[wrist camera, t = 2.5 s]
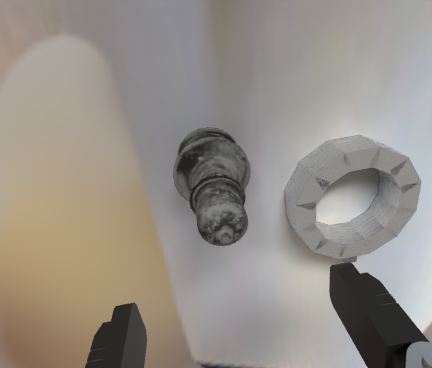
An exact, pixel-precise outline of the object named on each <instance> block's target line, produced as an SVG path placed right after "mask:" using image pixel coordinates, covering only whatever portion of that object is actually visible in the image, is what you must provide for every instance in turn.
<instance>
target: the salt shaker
mask: <svg viewBox="0 0 432 368" xmlns="http://www.w3.org/2000/svg"><path fill="white" fill-rule="evenodd" d="M173 178H174V182H175V186H176V188H177V190H178V191H179V193H180V194H181V195H182V196H183V197H184V198H185V199H186V200H187V201H189V202H190V206H191V209H192V211H193V212H194V214H195V215H197V226H198V230H199V233H200V234H201V236H202V238H203V239H204V240H206V241H207V242H209V243H211V244H213V245H218V246H226V245H231V244H233V243H235V242H237V241H238V240H240V239H241V238H242V237H243V235H244V234H245V232H246V230H247V226H248V218H247V214H246V211H245V209H244V203H245V191H244V190H245V188H246V186H247V184H248V182H249V178H250V164H249V161H248V159H247V156H246V154H245V153H244V152H243V150H242V149H241V148H240V147H239V146H238V145H236V143H235V141H234V140H233V138H232V137H231V136H230V135H229V134H227V133H226V132H224V131H222V130H220V129H217V128H208V127H207V128H202V129H198V130H196V131H194V132H192V133H190V134H189V135H188V136H187V137H186V138H185V139H184V140H183V142H182V143H181V145H180V148H179V151H178V157H177V159H176V162H175V165H174V171H173Z"/></svg>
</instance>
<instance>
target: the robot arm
mask: <svg viewBox="0 0 432 368" xmlns="http://www.w3.org/2000/svg"><path fill="white" fill-rule="evenodd" d="M329 292H330V298H331V302H332V304H333V307H334V309H335V310H336V312H337V314H338V316H339V318H340V319H341V321H342V323H343V325H344V326H345V328H346V330H347V332H348V334H349V335H350V337H351V339H352V341H353V342H354V344H355V346H356V348H357V350H358V351H359V353H360V355H361V357H362V358H363V360H364V362H365V364H366V366H367V367H368V368H432V343H430V342H429V341H428V340H427V339H426V337H425V336H424V335H423V334H422V333H421V331H420V330H419V329H418V328H417V326H416V325H415V324H414V323H413V321H412V320H411V319H410V318H409V316H408V315H407V314H406V313H405V312H404V310H403V309H402V308H401V307H400V305H399V304H398V303H396V300H395V299H394V298H393V297H392V296H391V294H389V292H388V291H387V289H386V288H385V287H384V286H383V284H382V283H381V282H380V281H379V280H377V279H376V278H374V277H373V276H371V275H370V274H368V273H362V274H360V273H359V272H358V271H357V269H356V268H355V267H354V265H353V264H352V263H351V262H346V263H341V264H336V265H331V267H330V290H329ZM146 345H147V335H146V329H145V326H144V323H143V321H142V318H141V315H140V313H139V310H138V307H137V305H136V304H135V303H130V304H125V305H120V306H116V307H115V308H114V311H113V315H112V319H111V322H105V323H103V324H102V325H101V327H100V328H99V330H98V331H97V333H96V334H95V336H94V339H93V342H92V346H91V349H90V350H91V352H90V353H89V356H88V359H87V364H86V366H85V368H144V363H145V354H146Z"/></svg>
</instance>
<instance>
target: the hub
mask: <svg viewBox="0 0 432 368" xmlns="http://www.w3.org/2000/svg"><path fill="white" fill-rule="evenodd" d="M372 167H373V168H376V169H377V171H378V172H379V174H380V184H379V193H378V195H377V197H376V198H375V200H374V201H373V203H372V204H371V206H370V207H369V209H368V210H367V211H366V212H364V213H363V214H361V215H360V216H358V217H357V218H355V219H354V220H352V221H350V222H347V223H342V224H337V225H331V226H330V225H326V224H323V223H320V222H316V205H317V204H318V202H319V200H320V199H321V197H322V195H323V194H324V192H325V190H326V188H327V187H328V186H329V185H331V184H332V183H333V182H335V181H336V180H338V179H339V178H341V177H342V176H344V175H345V174H346V173H348V172H351V171H356V170H362V169H367V168H372ZM420 187H421V180H420V178H419V176H418V174H417V172H416V170H415V168H414V166H413V165H412V163H411V161H410V159H409V157H407V156H405V155H403V154H401V153H400V152H398V151H396V150H394V149H392V148H390V147H389V146H387V145H384V144H382V143H379V142H377V141H374V140H372V139H369V138H367V137H364V136H362V135H357V136H352V137H346V138H341V139H336V140H330V141H327V142H325V143H324V144H323V145H321V146H320V147H319V148H317V149H316V150H315V151H313V152H312V153H310V154H309V155H308V156H306V157H305V158H304V159H302V160H301V161H300V162H299V163H298V165H297V167H296V169H295V171H294V173H293V175H292V177H291V179H290V180H289V182H288V184H287V186H286V188H285V201H286V216H287V217H288V219H289V221H290V223H291V224H292V226H293V228H294V230H295V231H296V233H297V234H298V236H299V237H300V238H301V239H302V240H303V241H304V243H305V244H306V245H307V246H308V247H309V248H310V250H311V251H312V252H313V253H317V254H321V255H325V256H328V257H332V258H336V259H342V261H343V262H344V263H346V262H355V261H356V258H357V256H359V255H364V254H369V253H371V252H372V251H374V250H376V249H377V248H379V247H381V246H382V245H384V244H385V243H387V242H389V241H390V240H392V239H393V238H395V237H397V236H398V234H399V233H400V232H401V230H402V229H403V228H404V226H405V225H406V224H407V222H408V221H409V220H410V218H411V217H412V216H413V214H414V213H415V212H416V209H417V204H418V198H419V193H420Z"/></svg>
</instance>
